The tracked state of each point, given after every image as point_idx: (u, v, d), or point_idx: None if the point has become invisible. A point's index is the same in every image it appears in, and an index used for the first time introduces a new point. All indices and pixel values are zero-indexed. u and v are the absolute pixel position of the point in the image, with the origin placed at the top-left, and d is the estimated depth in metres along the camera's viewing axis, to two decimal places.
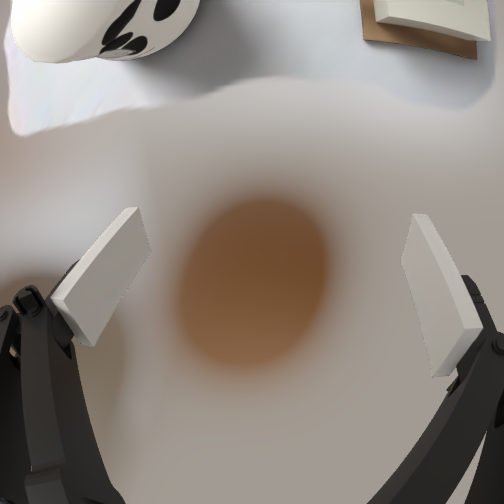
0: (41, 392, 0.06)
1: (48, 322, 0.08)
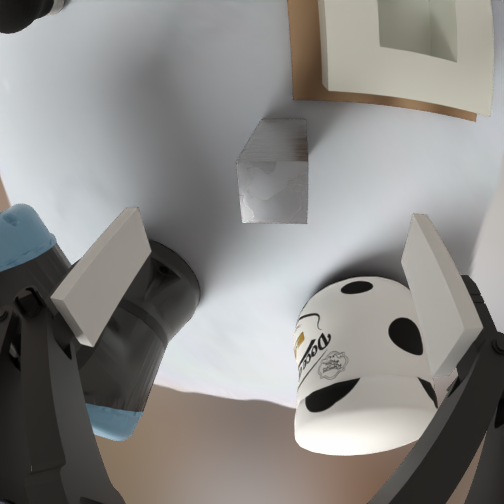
0: (41, 393, 0.06)
1: (48, 322, 0.08)
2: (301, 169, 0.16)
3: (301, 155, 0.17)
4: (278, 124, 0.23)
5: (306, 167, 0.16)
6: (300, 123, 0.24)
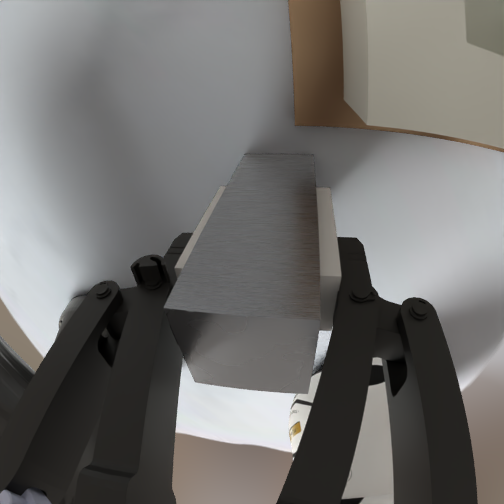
0: (135, 383, 0.07)
1: None
2: (303, 332, 0.07)
3: (306, 289, 0.08)
4: (269, 169, 0.15)
5: (315, 329, 0.07)
6: (306, 166, 0.15)
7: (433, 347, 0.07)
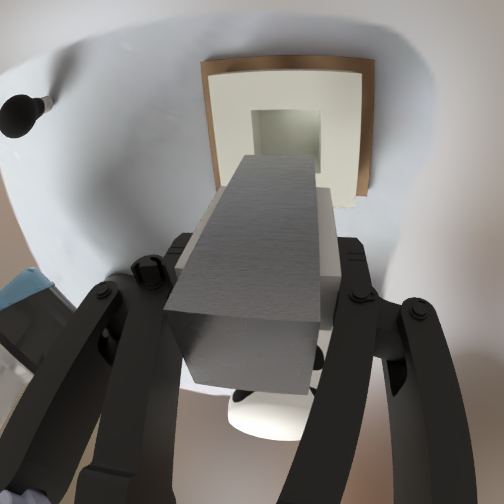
0: (135, 384, 0.07)
1: None
2: (303, 334, 0.07)
3: (306, 291, 0.08)
4: (269, 170, 0.15)
5: (315, 331, 0.07)
6: (306, 167, 0.15)
7: (433, 347, 0.07)
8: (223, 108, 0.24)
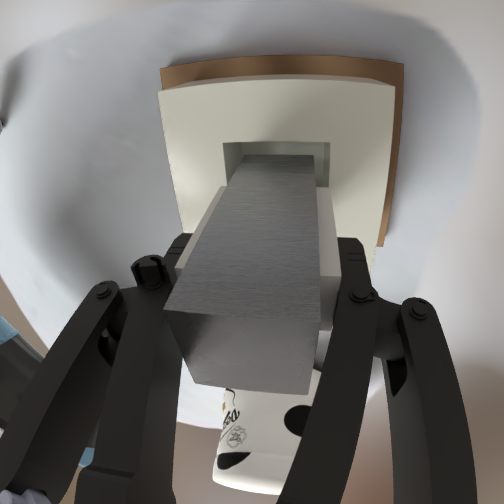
0: (135, 383, 0.07)
1: None
2: (303, 333, 0.07)
3: (306, 290, 0.08)
4: (269, 170, 0.15)
5: (315, 330, 0.07)
6: (306, 167, 0.15)
7: (433, 347, 0.07)
8: (182, 139, 0.16)
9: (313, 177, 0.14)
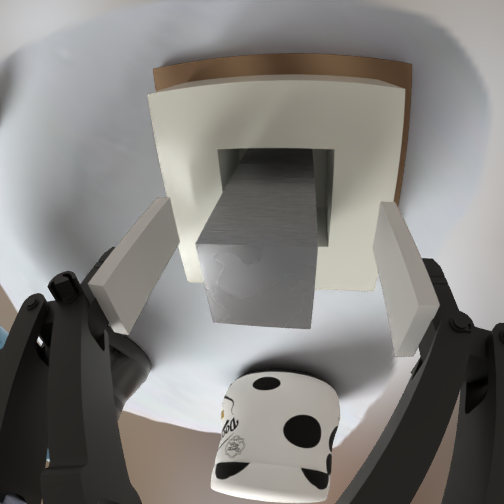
0: (69, 386, 0.06)
1: (84, 311, 0.09)
2: (304, 260, 0.10)
3: (306, 229, 0.10)
4: (274, 152, 0.17)
5: (314, 257, 0.10)
6: (305, 150, 0.17)
7: None
8: (174, 146, 0.15)
9: (311, 157, 0.16)
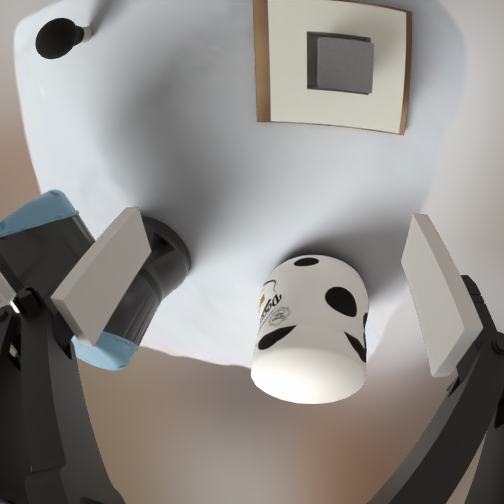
0: (41, 393, 0.06)
1: (48, 322, 0.08)
2: (368, 48, 0.16)
3: None
4: None
5: (372, 47, 0.16)
6: None
7: None
8: (280, 27, 0.22)
9: None
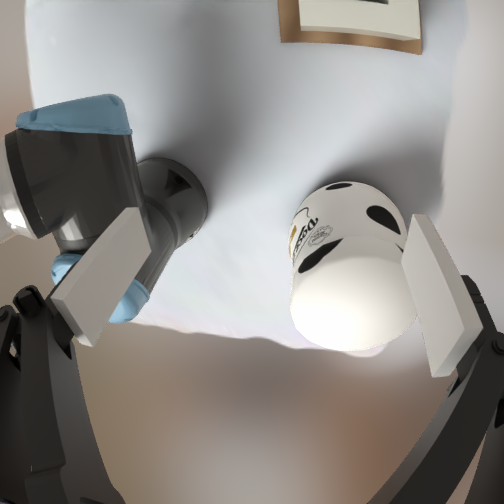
0: (41, 392, 0.06)
1: (48, 322, 0.08)
2: None
3: None
4: None
5: None
6: None
7: None
8: None
9: None
